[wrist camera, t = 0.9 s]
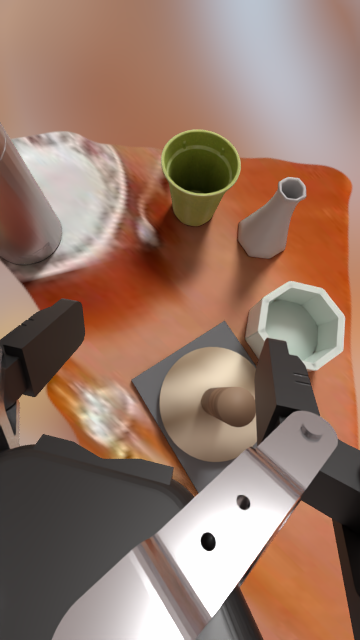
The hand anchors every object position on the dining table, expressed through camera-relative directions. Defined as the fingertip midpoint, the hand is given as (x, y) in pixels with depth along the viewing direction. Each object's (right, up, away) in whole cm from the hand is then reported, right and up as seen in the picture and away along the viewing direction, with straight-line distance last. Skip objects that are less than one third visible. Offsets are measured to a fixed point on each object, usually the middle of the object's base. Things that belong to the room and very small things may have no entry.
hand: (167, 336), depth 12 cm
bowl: (+14, -1, +25) cm, 29 cm away
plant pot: (+2, +17, +29) cm, 33 cm away
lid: (+5, -9, +21) cm, 24 cm away
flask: (+12, +13, +28) cm, 33 cm away
